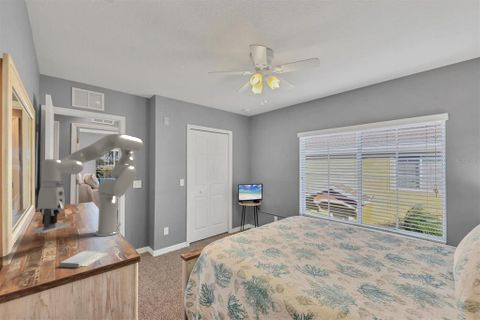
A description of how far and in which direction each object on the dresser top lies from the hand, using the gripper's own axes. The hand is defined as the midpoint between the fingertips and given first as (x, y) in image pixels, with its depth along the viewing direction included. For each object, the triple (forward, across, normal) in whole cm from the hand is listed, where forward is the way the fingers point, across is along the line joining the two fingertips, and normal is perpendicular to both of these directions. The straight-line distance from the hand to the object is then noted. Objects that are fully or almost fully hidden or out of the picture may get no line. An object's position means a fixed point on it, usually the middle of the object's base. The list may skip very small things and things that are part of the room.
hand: (49, 223), depth 104 cm
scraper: (+2, -2, 0) cm, 3 cm away
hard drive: (+12, -25, +10) cm, 29 cm away
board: (+12, -26, +8) cm, 29 cm away
